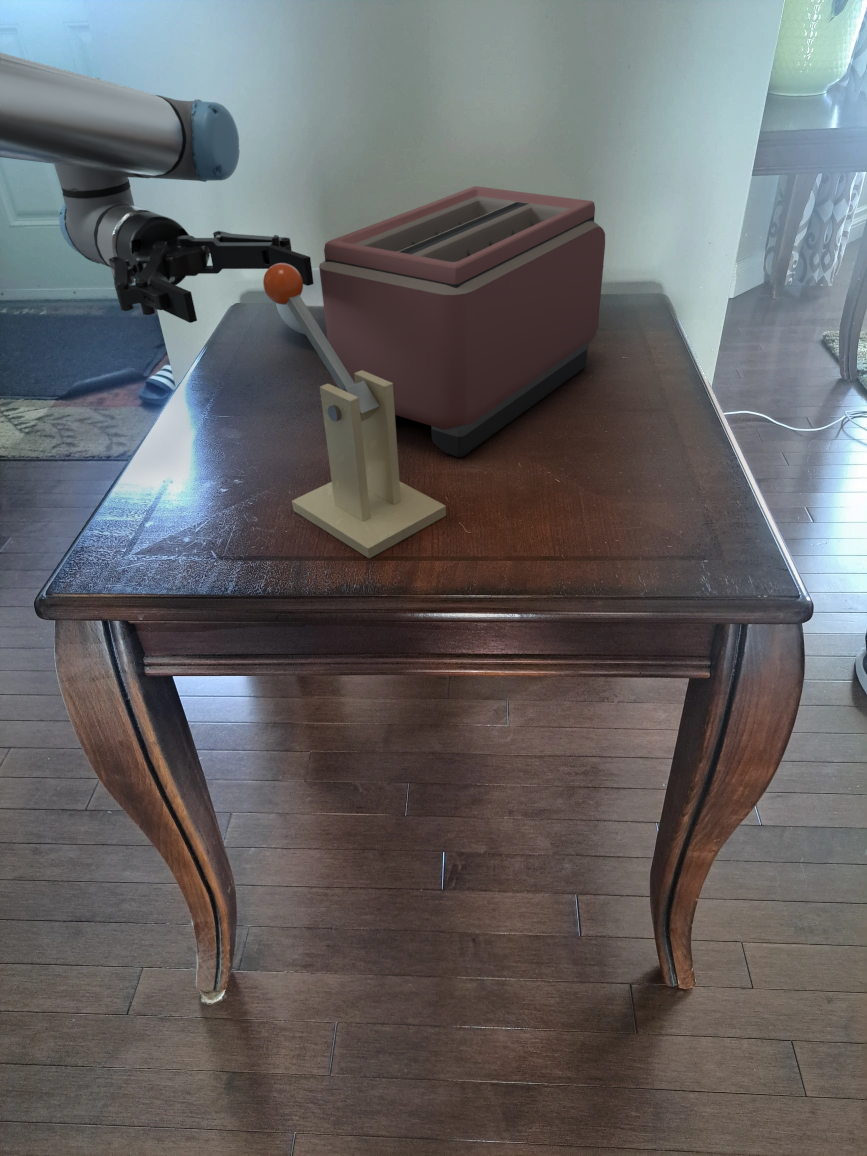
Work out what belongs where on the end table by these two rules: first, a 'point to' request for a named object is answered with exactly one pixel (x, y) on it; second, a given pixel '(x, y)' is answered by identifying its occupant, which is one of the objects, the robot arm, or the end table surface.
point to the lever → (315, 332)
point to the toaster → (467, 306)
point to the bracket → (365, 475)
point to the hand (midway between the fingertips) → (252, 288)
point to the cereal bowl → (312, 301)
